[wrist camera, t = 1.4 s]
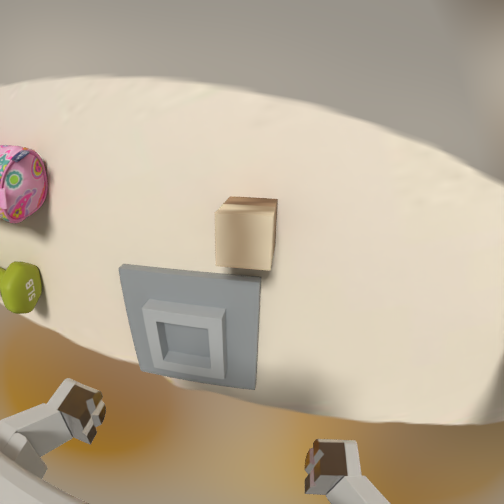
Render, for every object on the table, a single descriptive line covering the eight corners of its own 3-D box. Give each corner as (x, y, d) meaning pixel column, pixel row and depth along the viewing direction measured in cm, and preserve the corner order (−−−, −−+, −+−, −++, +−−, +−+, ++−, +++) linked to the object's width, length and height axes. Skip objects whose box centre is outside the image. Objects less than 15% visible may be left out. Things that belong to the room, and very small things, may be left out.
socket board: (261, 277, 32) (257, 292, 29) (255, 383, 38) (252, 401, 35) (123, 263, 34) (109, 276, 31) (144, 365, 40) (135, 380, 37)
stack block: (277, 199, 29) (273, 216, 23) (275, 243, 30) (270, 270, 25) (230, 196, 29) (214, 213, 24) (230, 240, 31) (215, 266, 26)
